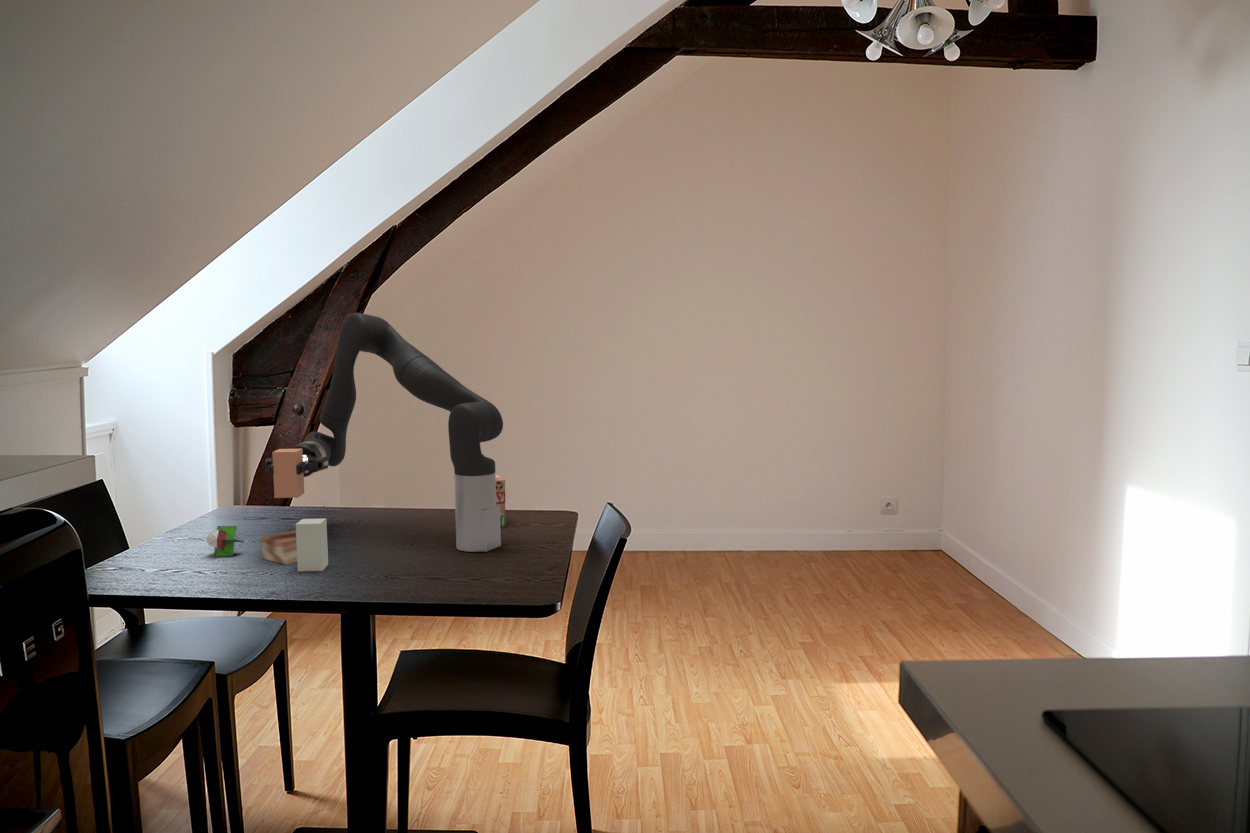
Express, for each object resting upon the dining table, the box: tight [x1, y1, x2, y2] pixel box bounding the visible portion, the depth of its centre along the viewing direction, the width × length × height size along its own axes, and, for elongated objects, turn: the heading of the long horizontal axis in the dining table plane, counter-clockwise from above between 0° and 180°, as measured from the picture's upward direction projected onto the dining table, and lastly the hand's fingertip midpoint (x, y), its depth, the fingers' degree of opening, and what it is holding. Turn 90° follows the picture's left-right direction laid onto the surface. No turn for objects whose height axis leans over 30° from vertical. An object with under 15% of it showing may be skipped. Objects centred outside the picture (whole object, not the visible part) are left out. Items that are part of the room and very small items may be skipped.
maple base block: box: [260, 529, 297, 565], centre depth 201 cm, size 9×9×5 cm
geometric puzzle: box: [205, 525, 245, 557], centre depth 204 cm, size 7×7×8 cm
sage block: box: [295, 518, 329, 572], centre depth 192 cm, size 5×5×10 cm
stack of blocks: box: [496, 474, 507, 527], centre depth 239 cm, size 21×6×12 cm, turn 24°
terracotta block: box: [271, 448, 305, 499], centre depth 200 cm, size 5×5×10 cm
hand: (285, 470), depth 197 cm, fingers closed on terracotta block, 5 cm apart
